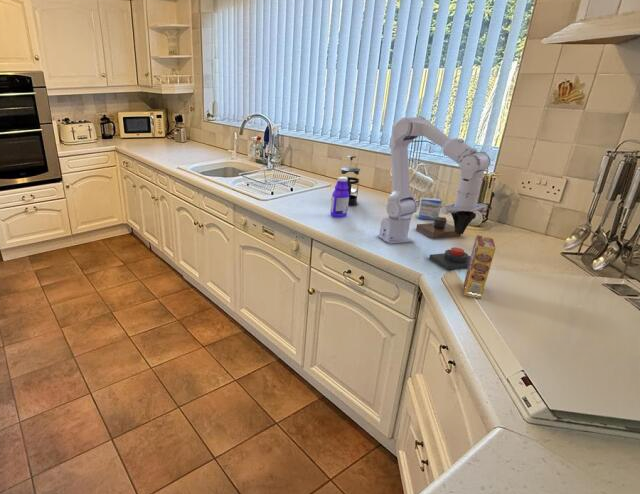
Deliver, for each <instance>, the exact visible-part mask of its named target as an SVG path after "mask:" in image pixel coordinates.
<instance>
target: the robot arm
mask: <svg viewBox="0 0 640 494" xmlns="http://www.w3.org/2000/svg"><path fill="white" fill-rule="evenodd" d="M418 137H424V138H426V139H428V140H429V141H430V142H433V143H434V144H436V145H437V146H439V147H440V148H442V154H444V155H445V156H446V157H447V158H449V159H450V160H452V161H453V162H455V163H456V164H458V166H459V169H460V179H459V184H458V187H457V192H456V197H455V201H454V203H452V204H448V205H444V206H441V210H440V211H441V214H443V215H449V214H450V215H451V217H452V220H453V224H454V225H453V227H455V233H457V234H461V235H463V234H464V233H465V231H466V229H467V228H468V226H469V224H470V223H471V222H472V221H473V220H474V219H475V218H476V217H477V212H478V211H480V212H481V211H482V212H487V209H488V204H486V203H478V199H479V195H480V191H481V188H482V187H481V186H482V183H483V179H484V178H483V177H484V175H485V174H484V173H485V171H486V170H487V169H489V167H490V165H491V157H490V155H488V154H487V153H486V152H485V151H477V148H475V147H472V146H470V145H468V144H467V143H466V142H465V139H463V138H457V137H456V138H451V137H449V136H448V135H446V134H445V132H443V131H441V129H439V128H438V127H437V126H436V125H434V124H433V123H432V122H431V120H429V119H427V118H425V116H419V115H418V116H415V117H401V118H398V119H397V120H396V122H395V123H394V124H393V125H392V136H391V139H390V160H391V178H392V192H391V194H389V196H388V197H387V204H386V213H387V215H388V216H387V217H384V218H382V220H381V222H380V229H379V234H378V235H377V236H378V238H380V239H381V240H383V241H384V242H386V243H387V244H389V245H390V244H403V243H412V242H413V240H412V239H411V238H409V237H408V236H409V231H410V226H411V220H412V217H413V214H414V213H416V212H417V209H418V203H417V200H416V198H415V193H413V191H412V190H411V189H410V170H409V169H410V167H409V149H408V148H409V145H410V144H411V143H412V142H413V141H414V140H415V139H417V138H418ZM475 212H476V213H475Z"/></svg>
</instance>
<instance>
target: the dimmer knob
mask: <svg viewBox="0 0 640 494" xmlns="http://www.w3.org/2000/svg"><path fill="white" fill-rule="evenodd" d="M433 223H434V225H433V227H434V228H437V229H444V228H445V225H446V223H447V218H446V216H445V217H443V216H442V217H441V216H439V217H435V220H433Z"/></svg>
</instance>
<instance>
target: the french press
mask: <svg viewBox="0 0 640 494" xmlns="http://www.w3.org/2000/svg"><path fill="white" fill-rule="evenodd" d="M346 158H349V159H350V166H346V167H345V166H344V167H340V173H341V175H346V174H347V173H349V176H346V177H347V178H348V180H347V185H348V187H349V189H348V192H349V202H348V207H354V206H356V205H358V202H357V201H358V193H359V185H360V178H358V177H352V176H351V173H354V174H355V175H356V176H358V175H359V174H360V171H361V168H358V167H355V166H354V167H353V166H352V162H353V159H357V156H355V155H347V156H346ZM356 184H357V188H356V189H354V188H352V185H356ZM354 194H356V195H354Z"/></svg>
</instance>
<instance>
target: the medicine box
mask: <svg viewBox="0 0 640 494" xmlns="http://www.w3.org/2000/svg"><path fill="white" fill-rule="evenodd" d="M419 198H420V199H419V205H418V211H417V219H420V220H428V221H429V220H430V221H434V220H435V217H440V211H441V209H442V203H443V201H442V198H437V197H423V196H421V197H419Z"/></svg>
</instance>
